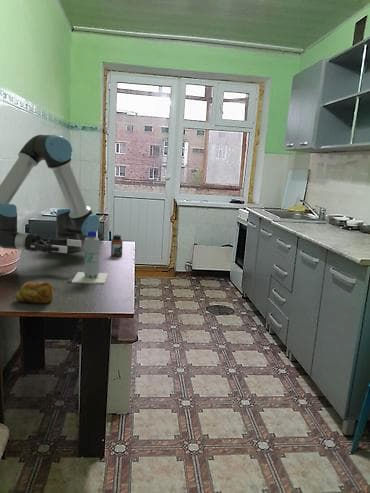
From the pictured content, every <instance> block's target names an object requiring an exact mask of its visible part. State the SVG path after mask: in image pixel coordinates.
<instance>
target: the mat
mask: <svg viewBox="0 0 370 493" xmlns="http://www.w3.org/2000/svg"><path fill="white" fill-rule="evenodd" d="M108 276H109V272H99V274H98V276H97V277H95V276H94V278H92V276H90V277H89V278H88V277H86V276H85V274H84V271H74V272H73V273H72V274H71V276H70V277H69V279H68V280H67V283H68V284H95V285H105V284H106V281H107V280H108V279H107V278H108Z"/></svg>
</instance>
